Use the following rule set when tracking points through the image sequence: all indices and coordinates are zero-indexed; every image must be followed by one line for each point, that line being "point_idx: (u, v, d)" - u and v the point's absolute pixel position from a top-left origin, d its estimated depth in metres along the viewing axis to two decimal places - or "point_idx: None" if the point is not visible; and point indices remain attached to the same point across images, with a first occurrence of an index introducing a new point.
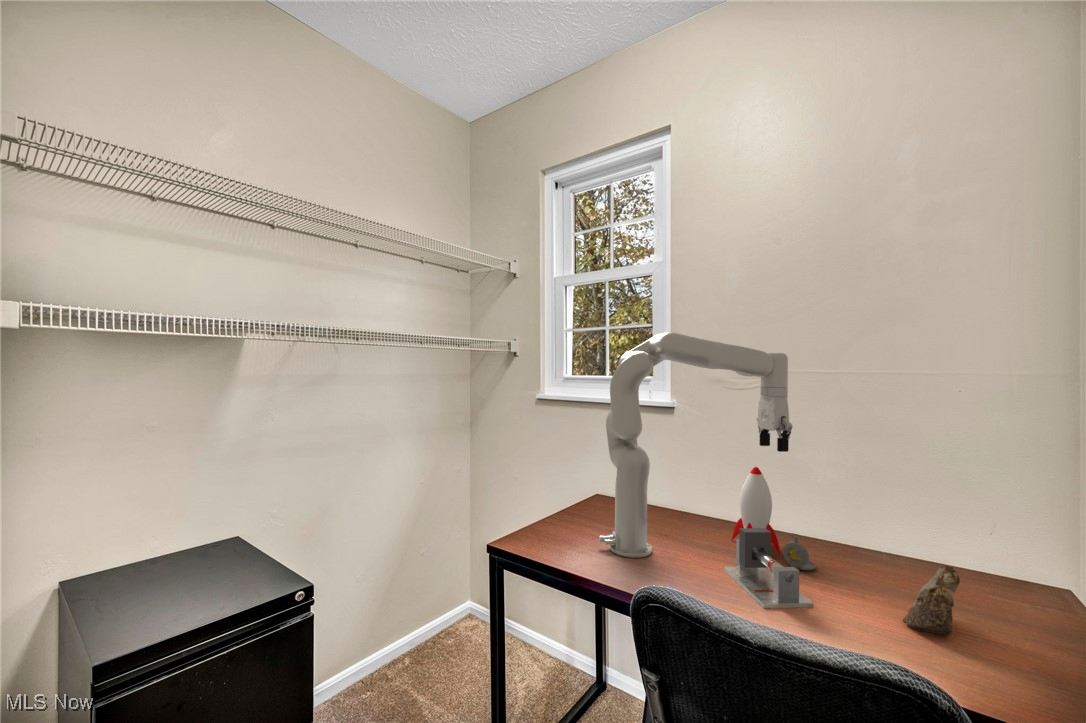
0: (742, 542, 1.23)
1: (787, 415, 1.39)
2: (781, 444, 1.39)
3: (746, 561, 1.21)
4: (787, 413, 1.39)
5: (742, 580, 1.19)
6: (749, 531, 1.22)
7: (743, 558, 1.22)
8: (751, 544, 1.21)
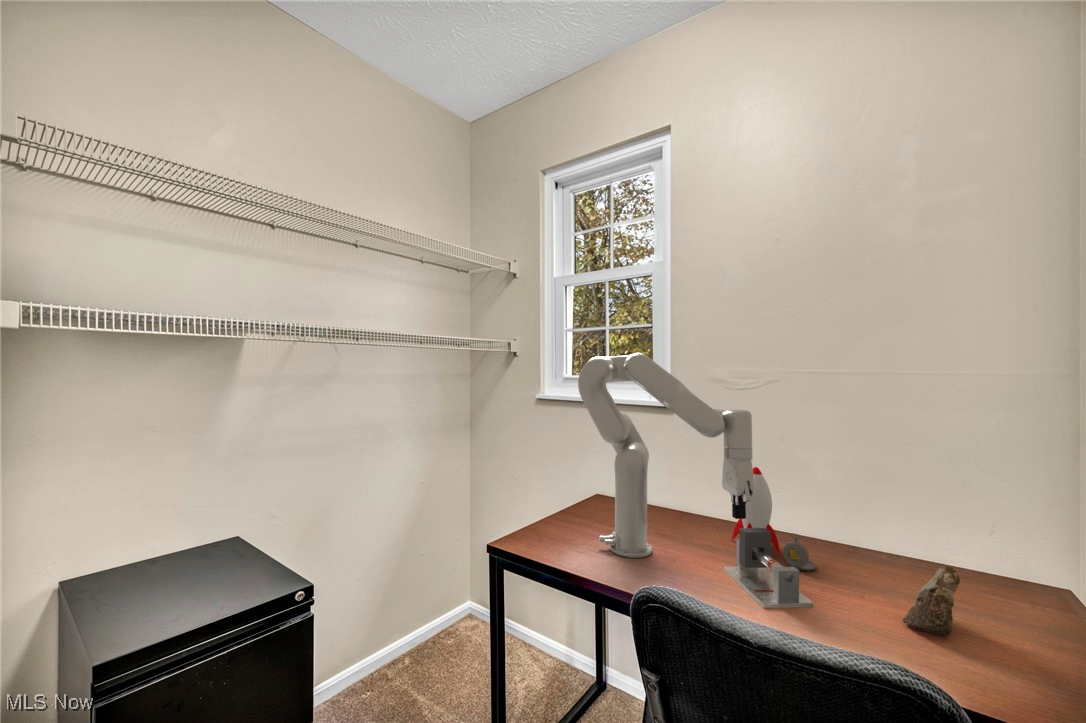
0: (742, 542, 1.23)
1: (751, 480, 1.28)
2: (737, 511, 1.32)
3: (746, 561, 1.21)
4: (751, 477, 1.28)
5: (742, 580, 1.19)
6: (749, 531, 1.22)
7: (743, 558, 1.22)
8: (751, 544, 1.21)
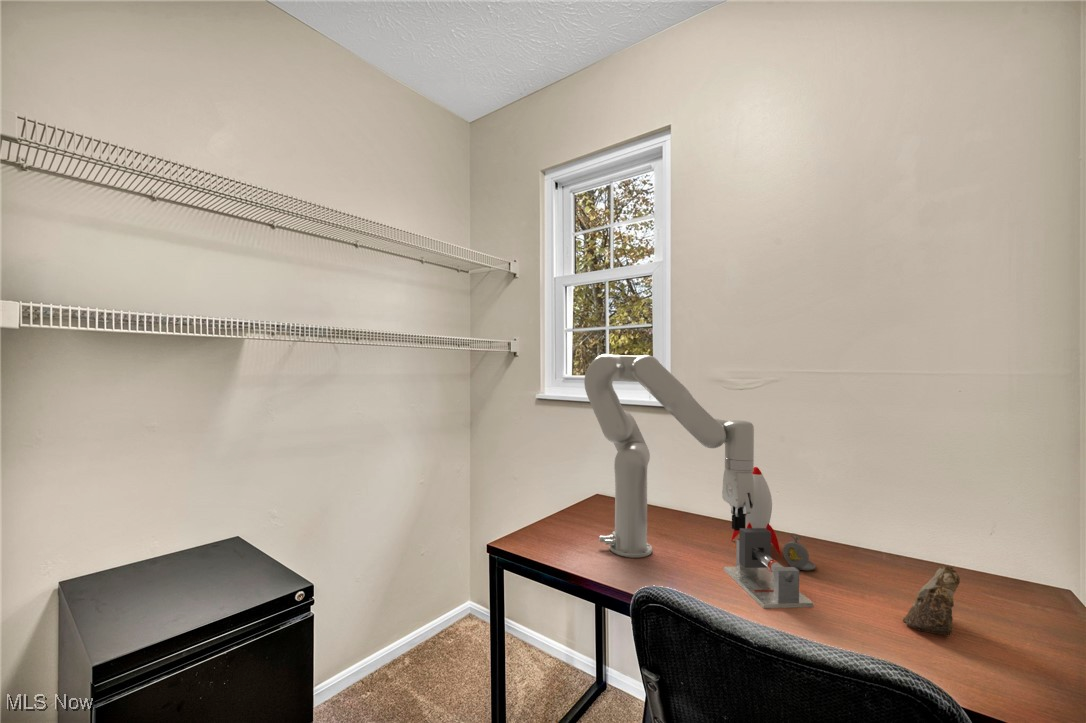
0: (742, 542, 1.23)
1: (752, 492, 1.27)
2: (737, 523, 1.31)
3: (746, 561, 1.21)
4: (752, 489, 1.27)
5: (742, 580, 1.19)
6: (749, 531, 1.22)
7: (743, 558, 1.22)
8: (751, 544, 1.21)
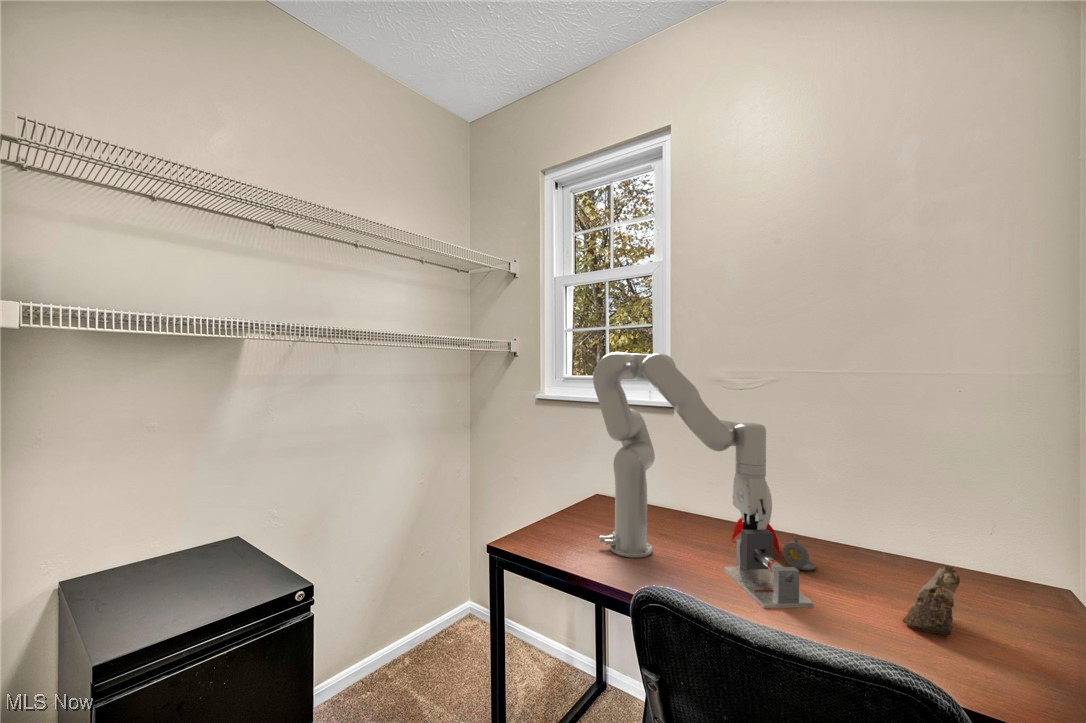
0: (744, 543, 1.22)
1: (764, 498, 1.21)
2: None
3: (748, 563, 1.20)
4: (765, 495, 1.21)
5: (742, 580, 1.19)
6: (751, 533, 1.21)
7: (745, 560, 1.21)
8: (753, 545, 1.20)
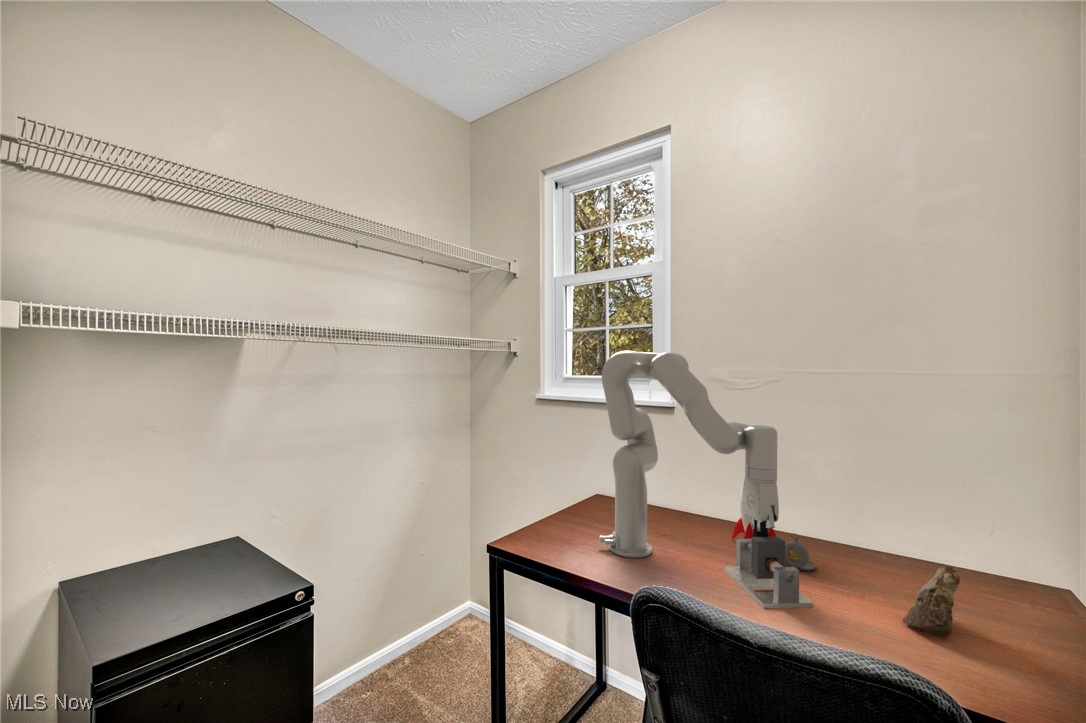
0: (754, 551, 1.16)
1: (776, 504, 1.16)
2: None
3: (759, 572, 1.15)
4: (776, 501, 1.16)
5: (742, 580, 1.19)
6: (762, 540, 1.16)
7: (756, 568, 1.16)
8: (764, 553, 1.15)
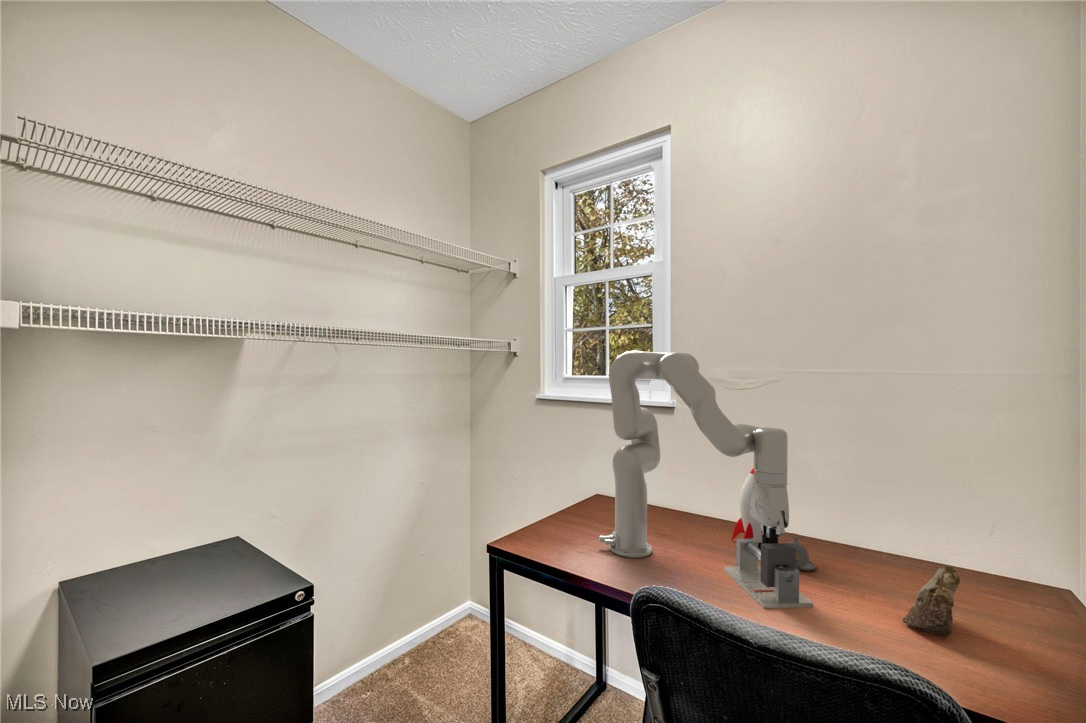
0: (764, 559, 1.12)
1: (786, 510, 1.12)
2: None
3: (769, 580, 1.11)
4: (787, 507, 1.12)
5: (742, 580, 1.19)
6: (772, 547, 1.11)
7: (765, 576, 1.11)
8: (774, 561, 1.11)
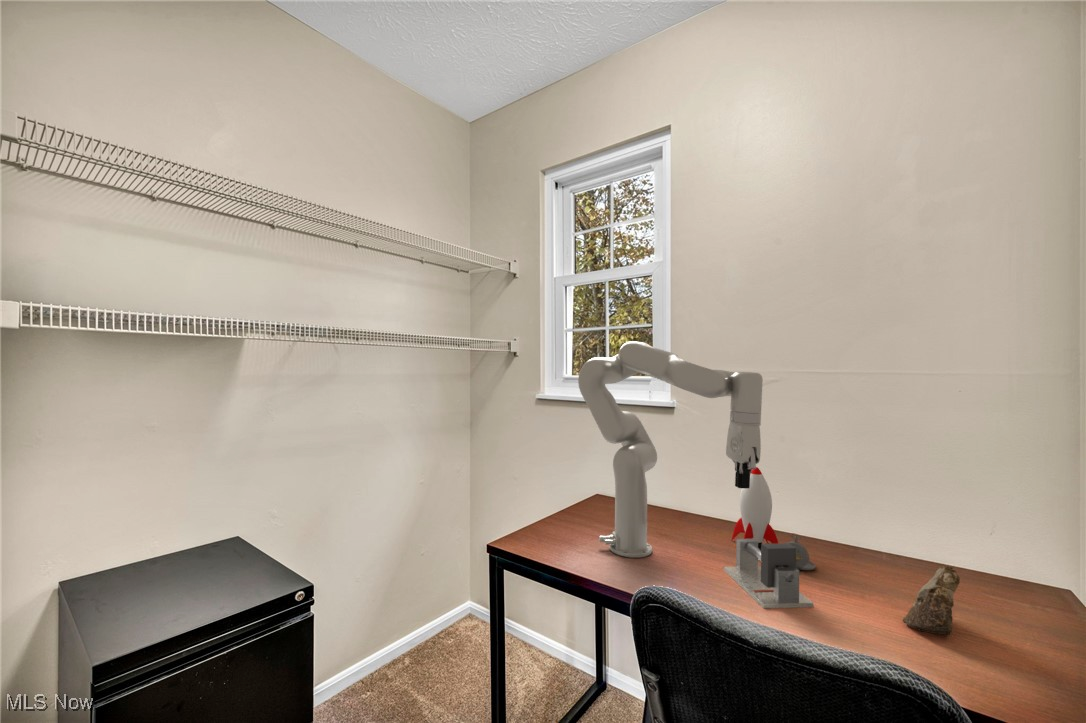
0: (764, 559, 1.12)
1: (758, 446, 1.19)
2: (741, 480, 1.23)
3: (769, 580, 1.11)
4: (759, 443, 1.19)
5: (742, 580, 1.19)
6: (772, 547, 1.11)
7: (766, 577, 1.11)
8: (774, 561, 1.11)
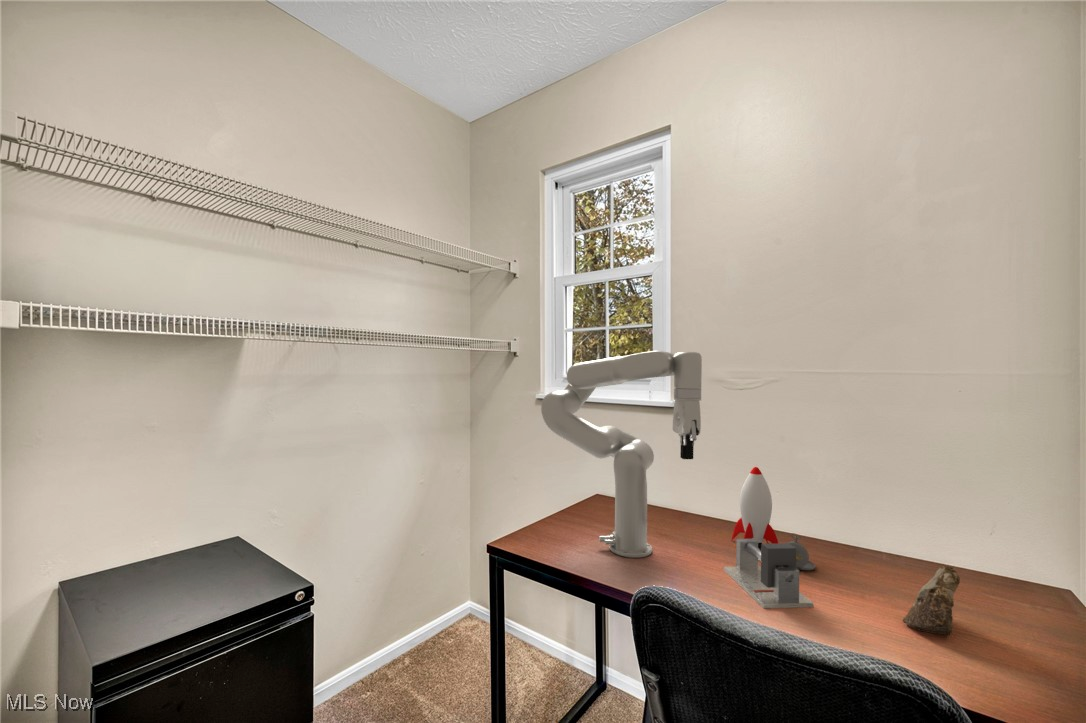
0: (764, 559, 1.12)
1: (698, 419, 1.30)
2: (685, 452, 1.33)
3: (769, 580, 1.11)
4: (698, 416, 1.30)
5: (742, 580, 1.19)
6: (772, 547, 1.11)
7: (766, 577, 1.11)
8: (774, 561, 1.11)
